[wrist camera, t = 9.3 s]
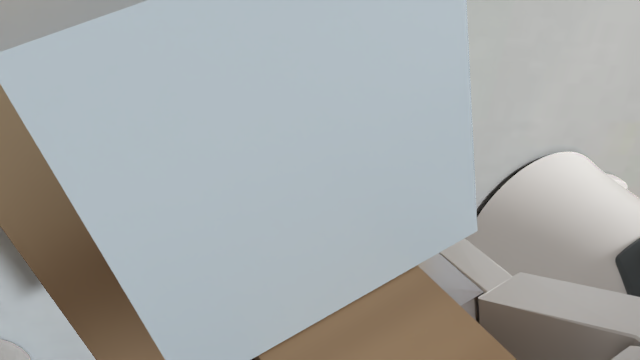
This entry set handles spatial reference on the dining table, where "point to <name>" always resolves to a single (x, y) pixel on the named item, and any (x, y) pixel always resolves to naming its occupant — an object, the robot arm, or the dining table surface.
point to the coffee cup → (12, 351)
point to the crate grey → (250, 150)
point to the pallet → (131, 334)
